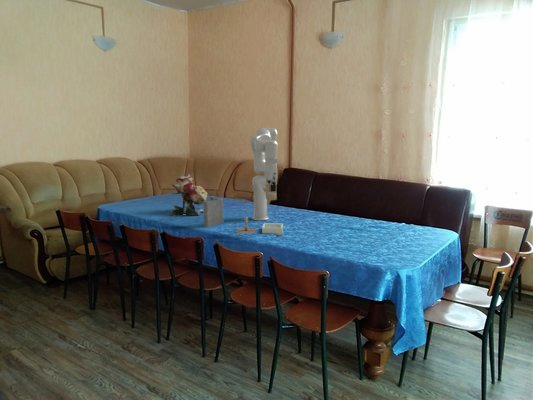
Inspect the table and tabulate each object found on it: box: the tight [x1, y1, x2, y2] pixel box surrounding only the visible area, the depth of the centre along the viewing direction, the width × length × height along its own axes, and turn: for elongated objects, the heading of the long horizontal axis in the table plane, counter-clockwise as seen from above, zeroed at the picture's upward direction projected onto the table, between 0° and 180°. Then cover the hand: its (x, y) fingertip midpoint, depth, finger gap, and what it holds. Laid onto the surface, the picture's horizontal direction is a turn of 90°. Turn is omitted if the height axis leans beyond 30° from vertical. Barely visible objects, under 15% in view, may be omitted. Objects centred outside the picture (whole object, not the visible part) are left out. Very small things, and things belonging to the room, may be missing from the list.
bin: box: [261, 222, 284, 237], centre depth 275 cm, size 12×12×5 cm
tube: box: [265, 183, 278, 201], centre depth 271 cm, size 5×5×10 cm
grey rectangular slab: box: [203, 195, 224, 228], centre depth 296 cm, size 16×4×20 cm, turn 136°
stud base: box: [234, 216, 257, 234], centre depth 276 cm, size 12×12×10 cm
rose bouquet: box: [169, 173, 209, 216], centre depth 337 cm, size 26×29×30 cm
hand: (271, 190), depth 271 cm, fingers closed on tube, 5 cm apart
